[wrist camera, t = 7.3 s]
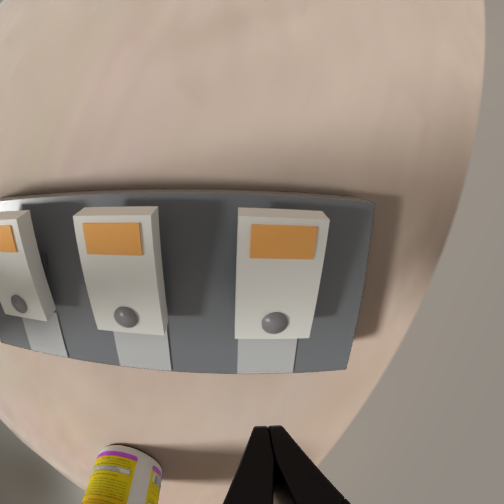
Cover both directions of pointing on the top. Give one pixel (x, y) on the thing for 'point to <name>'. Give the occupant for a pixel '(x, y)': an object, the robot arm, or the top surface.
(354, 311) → the rocker switch panel
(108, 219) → the rocker middle
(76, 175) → the top surface
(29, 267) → the block
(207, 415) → the top surface
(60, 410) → the top surface
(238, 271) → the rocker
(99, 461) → the supplement bottle
